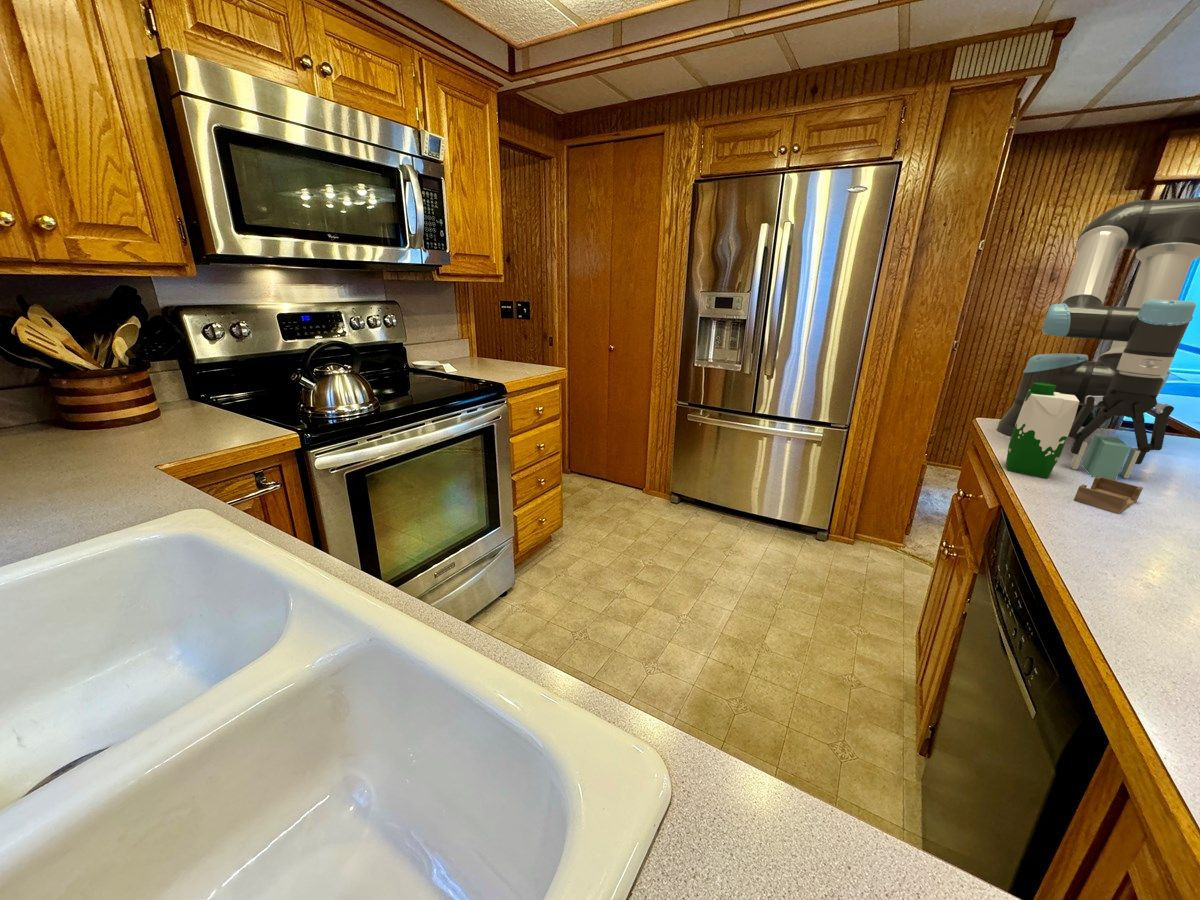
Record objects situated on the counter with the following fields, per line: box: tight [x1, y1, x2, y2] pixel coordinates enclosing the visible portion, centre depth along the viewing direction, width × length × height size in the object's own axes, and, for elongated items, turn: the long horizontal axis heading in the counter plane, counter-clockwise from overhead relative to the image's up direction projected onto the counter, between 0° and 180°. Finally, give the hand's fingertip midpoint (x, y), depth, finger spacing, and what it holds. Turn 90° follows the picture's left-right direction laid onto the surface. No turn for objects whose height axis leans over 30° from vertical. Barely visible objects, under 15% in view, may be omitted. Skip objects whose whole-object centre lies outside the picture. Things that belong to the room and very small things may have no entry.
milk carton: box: [1005, 382, 1080, 479], centre depth 108 cm, size 9×9×20 cm
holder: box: [1073, 476, 1144, 515], centre depth 96 cm, size 12×7×3 cm, turn 121°
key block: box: [1081, 433, 1131, 481], centre depth 110 cm, size 9×4×8 cm, turn 146°
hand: (1098, 471), depth 111 cm, fingers open, 8 cm apart
